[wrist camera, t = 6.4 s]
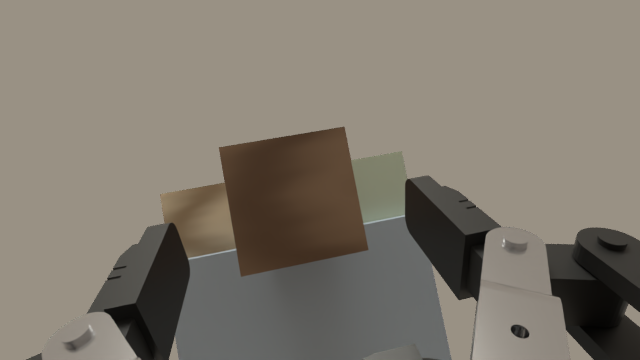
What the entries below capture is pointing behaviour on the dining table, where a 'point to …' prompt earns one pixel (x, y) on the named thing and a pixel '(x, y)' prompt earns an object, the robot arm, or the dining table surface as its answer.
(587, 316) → the robot arm
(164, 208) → the maple bar
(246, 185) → the walnut bar
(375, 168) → the sage bar
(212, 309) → the stand
